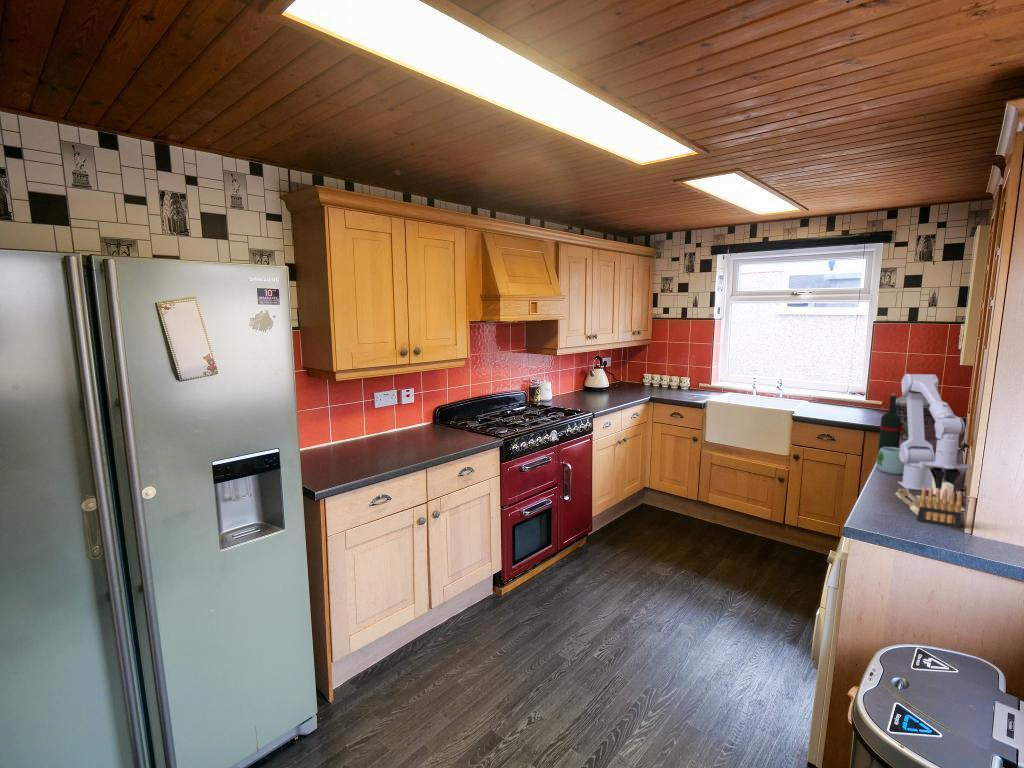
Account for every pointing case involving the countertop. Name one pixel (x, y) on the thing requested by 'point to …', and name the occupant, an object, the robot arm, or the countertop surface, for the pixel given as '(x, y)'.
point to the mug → (890, 460)
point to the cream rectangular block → (943, 488)
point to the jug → (902, 413)
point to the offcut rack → (913, 505)
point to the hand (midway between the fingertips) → (942, 489)
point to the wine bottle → (890, 427)
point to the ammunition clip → (940, 508)
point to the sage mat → (940, 501)
